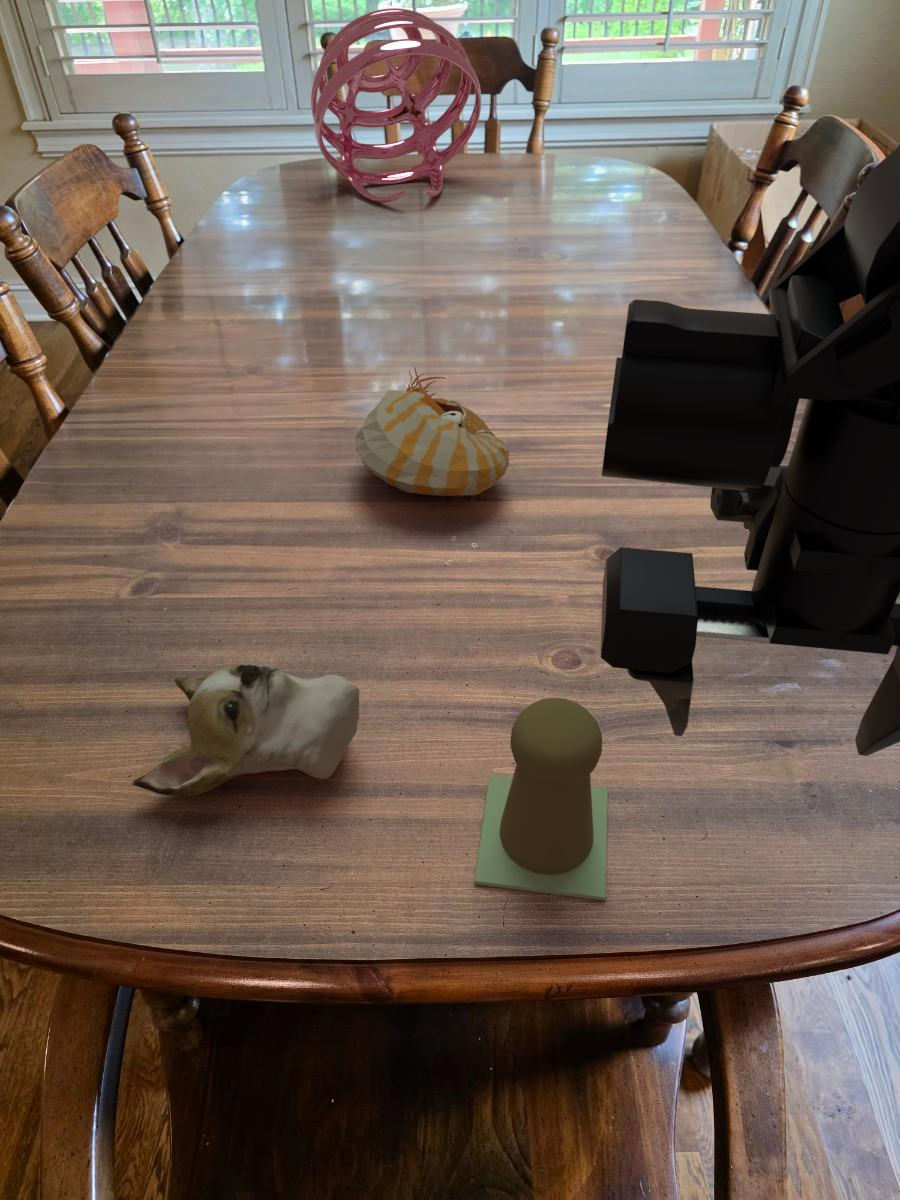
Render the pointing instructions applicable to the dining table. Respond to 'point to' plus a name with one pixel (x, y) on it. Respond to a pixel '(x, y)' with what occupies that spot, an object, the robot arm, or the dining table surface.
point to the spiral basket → (406, 111)
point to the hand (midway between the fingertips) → (767, 738)
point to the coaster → (508, 874)
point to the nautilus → (430, 444)
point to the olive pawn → (551, 787)
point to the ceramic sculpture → (257, 728)
